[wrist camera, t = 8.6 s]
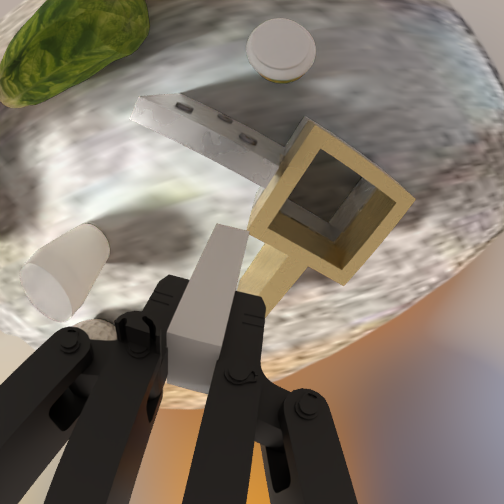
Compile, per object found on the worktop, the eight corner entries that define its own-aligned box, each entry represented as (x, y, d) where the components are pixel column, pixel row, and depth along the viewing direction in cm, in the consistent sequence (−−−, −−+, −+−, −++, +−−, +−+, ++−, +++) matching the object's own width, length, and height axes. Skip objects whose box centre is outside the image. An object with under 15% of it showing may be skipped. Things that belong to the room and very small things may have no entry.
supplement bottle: (270, 92, 26) (265, 91, 17) (243, 50, 24) (226, 30, 15) (318, 70, 24) (335, 60, 16) (291, 27, 22) (295, -2, 13)
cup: (87, 203, 34) (31, 248, 24) (129, 252, 37) (85, 309, 27) (60, 235, 37) (12, 280, 27) (96, 278, 41) (57, 330, 30)
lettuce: (26, 59, 23) (-34, 67, 13) (147, -28, 18) (95, -60, 9) (44, 124, 28) (-17, 147, 19) (173, 47, 24) (119, 31, 14)
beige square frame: (211, 266, 37) (193, 318, 29) (304, 115, 27) (314, 124, 18) (278, 300, 39) (276, 355, 31) (381, 168, 28) (415, 199, 20)
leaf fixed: (157, 141, 29) (113, 163, 21) (196, 60, 24) (161, 49, 16) (330, 236, 33) (343, 286, 25) (381, 168, 28) (415, 199, 20)
